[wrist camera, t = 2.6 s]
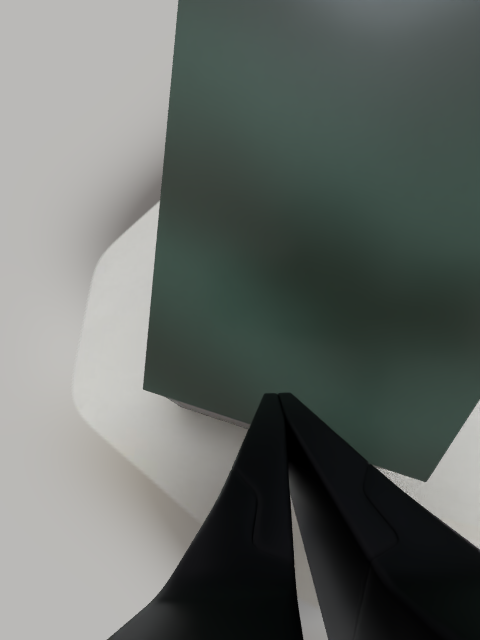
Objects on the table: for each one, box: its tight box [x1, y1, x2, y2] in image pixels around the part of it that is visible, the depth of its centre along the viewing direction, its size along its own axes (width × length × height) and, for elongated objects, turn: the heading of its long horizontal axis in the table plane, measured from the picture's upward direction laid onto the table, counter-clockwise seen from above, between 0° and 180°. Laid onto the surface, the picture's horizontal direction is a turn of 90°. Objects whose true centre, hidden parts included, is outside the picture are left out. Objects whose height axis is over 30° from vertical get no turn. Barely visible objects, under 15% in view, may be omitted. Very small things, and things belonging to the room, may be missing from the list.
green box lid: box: [143, 0, 480, 482], centre depth 11 cm, size 16×14×1 cm
